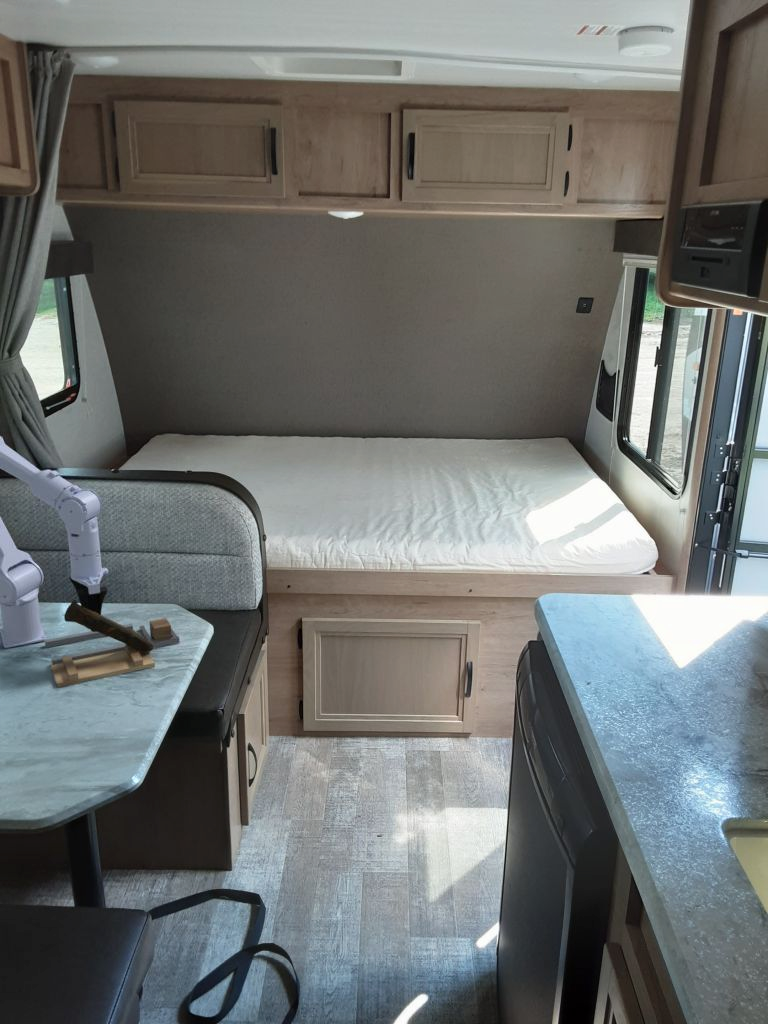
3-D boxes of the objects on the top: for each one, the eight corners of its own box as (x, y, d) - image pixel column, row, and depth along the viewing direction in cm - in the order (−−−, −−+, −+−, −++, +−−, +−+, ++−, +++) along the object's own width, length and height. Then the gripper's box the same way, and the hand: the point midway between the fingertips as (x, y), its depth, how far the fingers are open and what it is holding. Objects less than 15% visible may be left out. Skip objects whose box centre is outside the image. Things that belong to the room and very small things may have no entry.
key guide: (139, 629, 173) (139, 624, 173) (166, 624, 176) (166, 619, 176) (151, 648, 165) (151, 643, 165) (179, 642, 168) (179, 637, 167)
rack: (50, 669, 156) (49, 659, 155) (144, 649, 164) (144, 641, 164) (57, 687, 149) (56, 677, 148) (154, 666, 158) (154, 657, 157)
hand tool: (60, 614, 155) (64, 623, 151) (72, 597, 155) (76, 605, 151) (142, 655, 165) (148, 664, 161) (154, 639, 165) (159, 647, 161)
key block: (150, 636, 170) (149, 621, 169) (166, 633, 172) (165, 618, 171) (155, 643, 167) (154, 628, 166) (171, 640, 168) (170, 625, 167)
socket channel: (45, 645, 165) (44, 640, 165) (131, 628, 173) (131, 623, 173) (53, 666, 156) (52, 661, 156) (143, 648, 165) (143, 643, 165)
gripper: (113, 559, 155) (119, 624, 159) (98, 538, 167) (104, 598, 171) (75, 565, 151) (81, 631, 155) (62, 543, 163) (69, 604, 167)
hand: (91, 614), depth 163 cm, fingers open, 6 cm apart
